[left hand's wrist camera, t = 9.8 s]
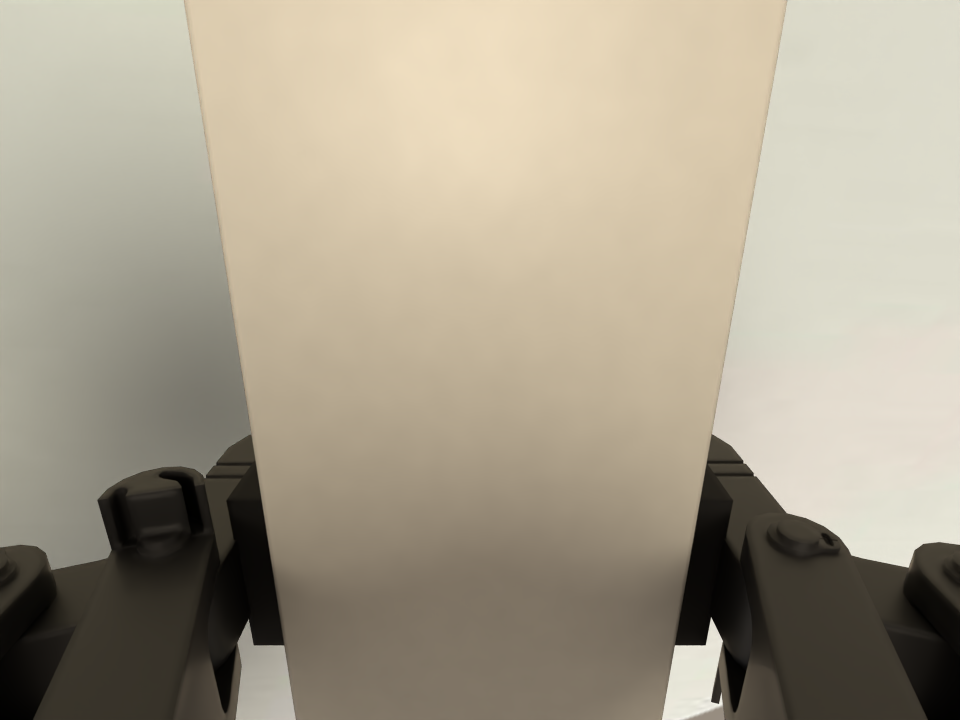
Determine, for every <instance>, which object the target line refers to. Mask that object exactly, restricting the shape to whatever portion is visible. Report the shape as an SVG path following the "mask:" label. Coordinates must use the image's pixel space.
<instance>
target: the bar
mask: <svg viewBox="0 0 960 720" xmlns="http://www.w3.org/2000/svg"><path fill="white" fill-rule="evenodd" d="M184 4H185V11H186V17H187V23H188V30H189V36H190V43H191V49H192V55H193V62H194V68H195V75H196V81H197V88H198V94H199V100H200V107H201V113H202V120H203V126H204V133H205V139H206V145H207V152H208V158H209V165H210V171H211V177H212V184H213V190H214V197H215V203H216V210H217V216H218V222H219V229H220V235H221V242H222V248H223V254H224V261H225V267H226V274H227V280H228V287H229V293H230V299H231V306H232V312H233V319H234V325H235V331H236V338H237V344H238V351H239V357H240V364H241V370H242V376H243V383H244V389H245V396H246V402H247V409H248V415H249V421H250V428H251V434H252V441H253V447H254V453H255V460H256V466H257V473H258V479H259V486H260V492H261V498H262V505H263V511H264V518H265V524H266V530H267V537H268V543H269V550H270V556H271V563H272V569H273V575H274V582H275V588H276V595H277V601H278V607H279V614H280V620H281V627H282V633H283V640H284V646H285V652H286V659H287V665H288V672H289V678H290V684H291V691H292V697H293V704H294V710H295V717H296V720H662V715H663V710H664V704H665V698H666V693H667V687H668V681H669V675H670V670H671V664H672V658H673V652H674V647H675V641H676V635H677V630H678V624H679V618H680V612H681V607H682V601H683V595H684V589H685V584H686V578H687V572H688V567H689V561H690V555H691V549H692V544H693V538H694V532H695V526H696V521H697V515H698V509H699V503H700V498H701V492H702V486H703V481H704V475H705V469H706V463H707V458H708V452H709V446H710V440H711V435H712V429H713V423H714V418H715V412H716V406H717V400H718V395H719V389H720V383H721V377H722V372H723V366H724V360H725V355H726V349H727V343H728V337H729V332H730V326H731V320H732V314H733V309H734V303H735V297H736V292H737V286H738V280H739V274H740V269H741V263H742V257H743V251H744V246H745V240H746V234H747V229H748V223H749V217H750V211H751V206H752V200H753V194H754V188H755V183H756V177H757V171H758V166H759V160H760V154H761V148H762V143H763V137H764V131H765V125H766V120H767V114H768V108H769V102H770V97H771V91H772V85H773V80H774V74H775V68H776V62H777V57H778V51H779V45H780V39H781V34H782V28H783V22H784V17H785V11H786V5H787V0H184Z"/></svg>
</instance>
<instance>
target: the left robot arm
mask: <svg viewBox="0 0 960 720" xmlns="http://www.w3.org/2000/svg"><path fill="white" fill-rule="evenodd" d="M98 504H99V507H100V511H101V514H102V518H103V521H104V525H105V528H106V532H107V535H108V538H109V542H110V545H111V549H112V551H111V553H110V555H109V557H108V558H107V559H103V560H99V561H95V562H90V563H85V564H80V565H75V566H71V567H66V568H61V569H56V570H51V567H50V564H49V562H48V559H47V556H46V553H45V552H43V551H42V550H41V549H39V548H38V547H35V546H26V545H16V546H9V547H2V548H0V720H235V719H236V711H237V702H238V693H239V684H240V675H241V667H242V666H241V659H240V653H239V648H238V643H237V642H238V640H239V638H240V636H241V633H242V631H243V629H244V627H245V625H246V623H247V621H248V619H249V622H250V628H251V633H252V638H253V643H254V645H284V640H283V633H282V627H281V620H280V614H279V607H278V601H277V595H276V588H275V582H274V575H273V569H272V563H271V556H270V550H269V543H268V537H267V530H266V524H265V518H264V511H263V505H262V498H261V492H260V486H259V479H258V473H257V466H256V460H255V453H254V447H253V441H252V435H249V436H247V437H245V438H244V439H242V440H241V441H239V442H237V443H236V444H234V445H232V446H231V447H229V448H228V449H227V451H226V452H225V453H224V454H223V455H222V457H221V458H220V459H219V460H218V462H217V463H216V466H213V468H212V469H211V470H210V471H209V472H208V474H207V475H206V479H204V478H203V475H202V474H200V473H199V472H198V471H196V470H195V469H190V468H185V467H162V468H158V469H153V470H149V471H144V472H141V473H138V474H136V475H133V476H131V477H128V478H126V479H123V480H122V481H120V482H118V483H117V484H115V485H114V486H112V487H110V488H109V489H107V490H106V491H105V492H104V494H103V495H102V496H101V497H100V498H99V499H98ZM711 617H712V619H713V621H714V623H715V626H716V628H717V630H718V632H719V634H720V636H721V638H722V640H723V643H722V648H721V653H720V658H719V663H718V668H717V673H716V678H715V682H714V687H713V693H712V699H711V702H713V703H717V704H719V701H720V696H721V692H722V700H723V709H724V718H725V720H960V545H956V544H949V543H941V542H937V543H928V544H923V545H921V546H920V547H919V548H917V549H916V550H915V551H914V554H913V557H912V560H911V563H910V565H909V568H907V567H902V566H897V565H892V564H887V563H882V562H877V561H872V560H867V559H862V558H859V557H855V556H851V554H850V552H849V550H848V548H847V547H846V546H845V544H844V543H843V542H842V540H841V539H840V538H839V537H838V536H837V535H835V534H834V533H832V532H831V531H830V530H828V529H827V528H825V527H824V526H822V525H820V524H817V523H815V522H813V521H811V520H809V519H806V518H803V517H799V516H795V515H791V514H787V513H786V512H785V511H784V509H783V508H782V507H781V506H780V505H779V503H778V502H777V501H776V500H775V499H774V497H773V496H772V495H771V494H770V493H769V491H768V490H767V489H766V488H765V486H764V485H763V484H762V483H761V482H760V480H759V479H758V478H757V477H756V476H754V473H753V472H752V471H751V470H750V468H749V467H748V466H747V465H746V464H743V460H742V459H741V457H740V456H739V455H738V454H737V453H736V451H735V450H734V449H733V448H732V447H731V446H730V445H729V444H727V443H725V442H724V441H722V440H721V439H719V438H717V437H716V436H714V435H711V440H710V446H709V452H708V458H707V463H706V469H705V475H704V481H703V486H702V492H701V498H700V503H699V509H698V515H697V521H696V526H695V532H694V538H693V544H692V549H691V555H690V561H689V567H688V572H687V578H686V584H685V589H684V595H683V601H682V607H681V612H680V618H679V624H678V630H677V635H676V641H675V645H706V641H707V635H708V630H709V625H710V620H711Z"/></svg>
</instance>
